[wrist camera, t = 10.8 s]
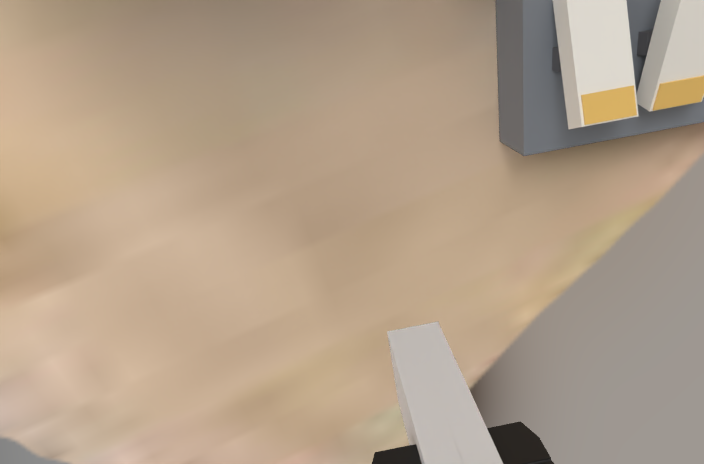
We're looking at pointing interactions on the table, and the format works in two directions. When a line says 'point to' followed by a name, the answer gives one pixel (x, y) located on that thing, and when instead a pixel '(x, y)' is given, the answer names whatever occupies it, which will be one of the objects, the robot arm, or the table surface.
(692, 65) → the rocker mid
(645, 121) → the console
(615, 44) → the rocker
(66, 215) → the table surface
